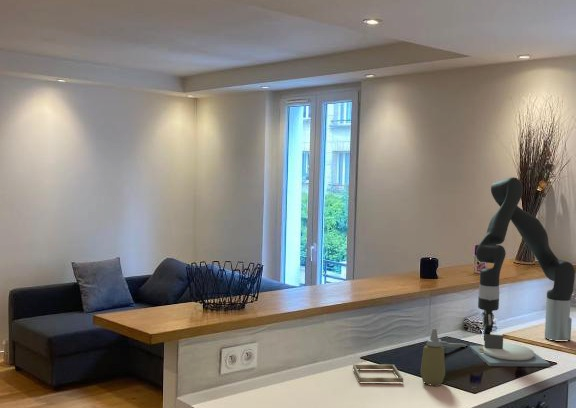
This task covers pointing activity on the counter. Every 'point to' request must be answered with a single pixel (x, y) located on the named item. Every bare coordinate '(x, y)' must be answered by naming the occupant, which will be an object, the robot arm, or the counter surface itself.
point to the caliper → (451, 345)
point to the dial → (505, 349)
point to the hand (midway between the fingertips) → (486, 340)
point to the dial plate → (494, 361)
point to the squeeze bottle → (433, 361)
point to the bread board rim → (377, 379)
